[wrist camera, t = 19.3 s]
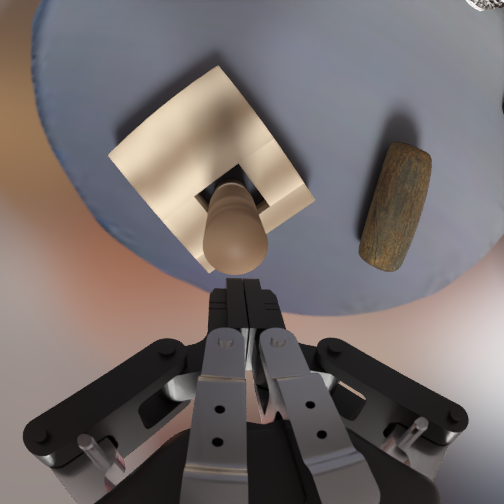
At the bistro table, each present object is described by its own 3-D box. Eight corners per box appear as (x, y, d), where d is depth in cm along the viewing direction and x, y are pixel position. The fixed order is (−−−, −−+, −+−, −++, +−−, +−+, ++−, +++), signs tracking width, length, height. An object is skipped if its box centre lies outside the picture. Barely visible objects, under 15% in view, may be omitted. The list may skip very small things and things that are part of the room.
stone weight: (389, 254, 36) (414, 278, 30) (347, 249, 35) (369, 275, 29) (417, 151, 30) (450, 159, 24) (374, 136, 29) (406, 141, 23)
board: (118, 152, 27) (107, 155, 24) (218, 71, 25) (218, 65, 22) (210, 261, 34) (209, 273, 31) (307, 193, 31) (315, 200, 29)
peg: (204, 190, 30) (189, 240, 18) (234, 168, 29) (242, 201, 17) (226, 219, 32) (229, 285, 19) (257, 197, 31) (280, 251, 19)
